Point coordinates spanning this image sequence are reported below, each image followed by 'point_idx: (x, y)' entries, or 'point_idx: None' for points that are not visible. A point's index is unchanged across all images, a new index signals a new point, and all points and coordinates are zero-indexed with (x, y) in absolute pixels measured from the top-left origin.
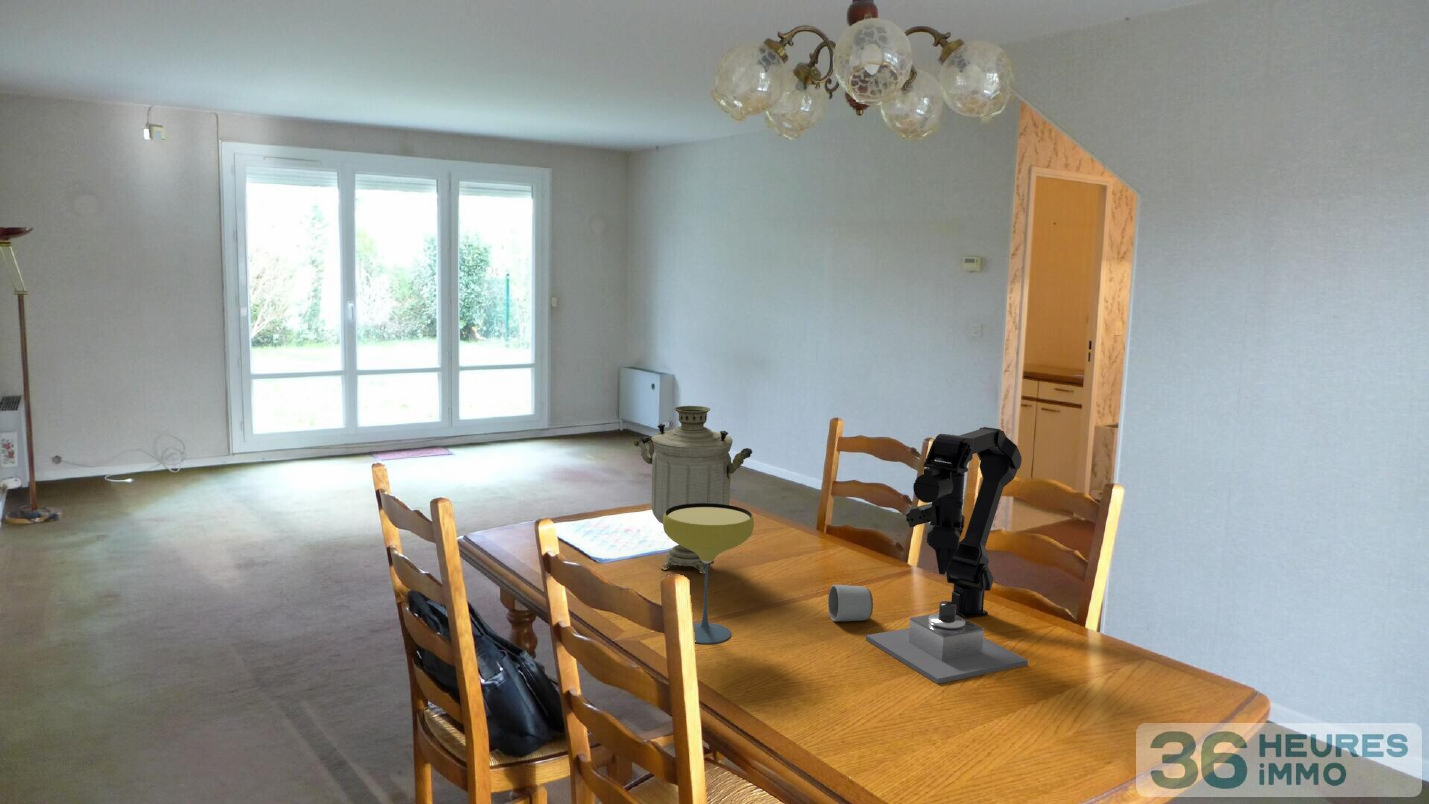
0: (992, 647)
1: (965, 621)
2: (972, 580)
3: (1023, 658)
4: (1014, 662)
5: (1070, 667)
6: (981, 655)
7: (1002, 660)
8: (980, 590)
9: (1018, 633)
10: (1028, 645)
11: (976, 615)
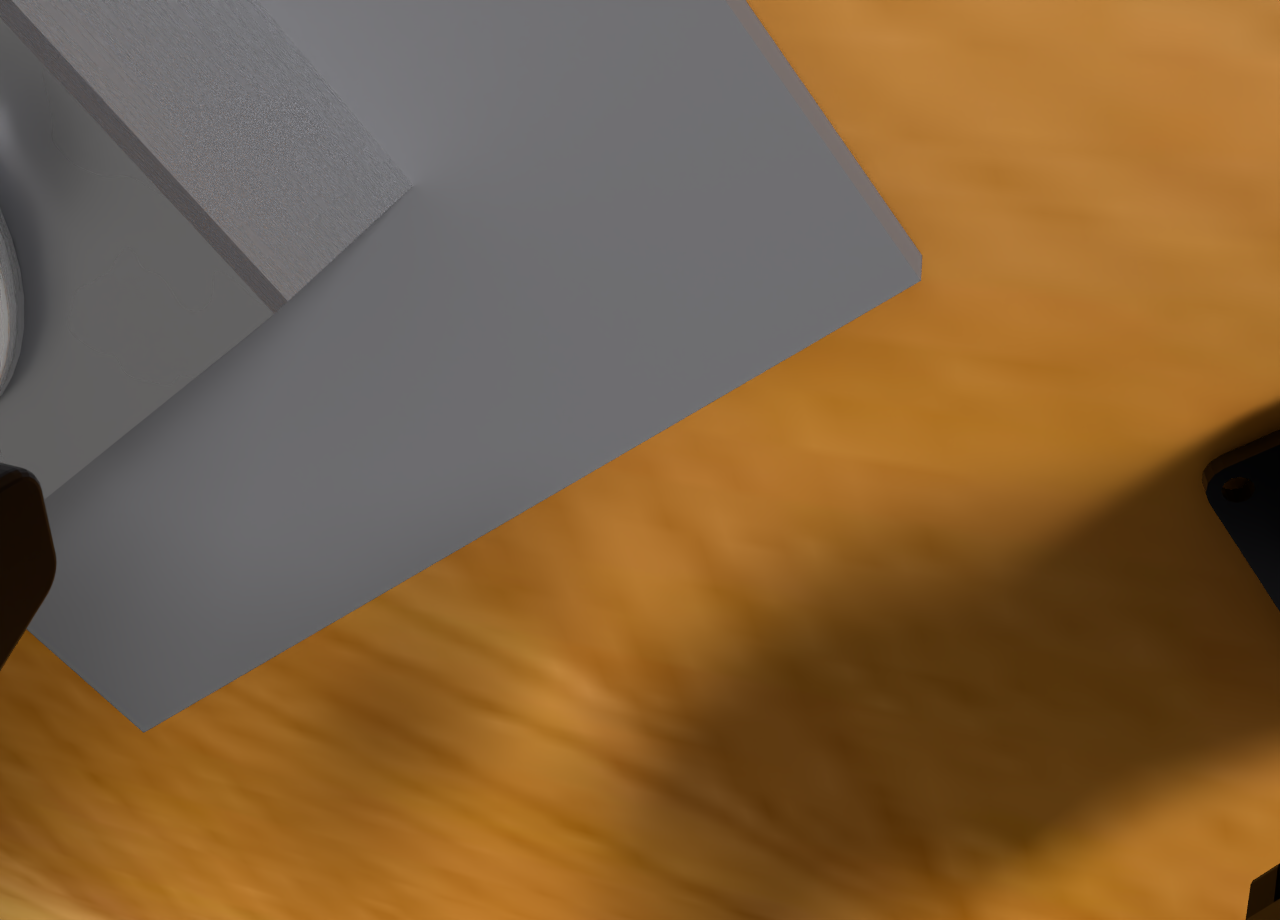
0: (270, 556)
1: (6, 456)
2: (1261, 917)
3: (162, 714)
4: (46, 639)
5: (273, 912)
6: None
7: None
8: (1272, 872)
9: (832, 815)
10: (570, 808)
11: (1272, 592)
